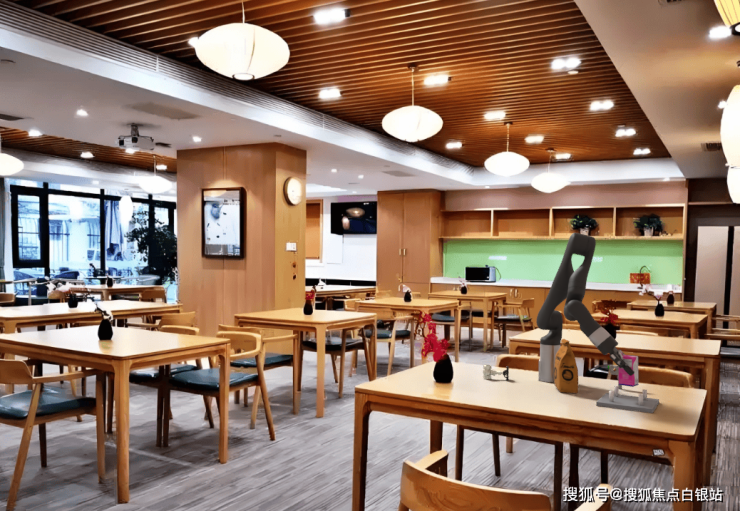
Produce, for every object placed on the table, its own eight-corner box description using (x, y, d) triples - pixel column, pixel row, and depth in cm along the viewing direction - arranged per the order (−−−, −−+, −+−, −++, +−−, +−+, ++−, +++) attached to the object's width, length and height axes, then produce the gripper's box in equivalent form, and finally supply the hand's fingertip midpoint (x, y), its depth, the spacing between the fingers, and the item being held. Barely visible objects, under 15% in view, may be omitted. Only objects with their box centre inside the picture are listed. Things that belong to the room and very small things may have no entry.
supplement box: (623, 382, 239) (624, 354, 239) (638, 385, 235) (639, 356, 235) (617, 384, 235) (618, 355, 235) (633, 387, 231) (633, 357, 231)
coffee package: (555, 392, 254) (556, 341, 254) (553, 387, 266) (553, 338, 267) (579, 394, 252) (580, 342, 252) (576, 388, 264) (576, 338, 264)
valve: (482, 380, 281) (508, 381, 278) (482, 366, 281) (508, 367, 278) (483, 377, 287) (508, 379, 284) (483, 363, 287) (508, 365, 284)
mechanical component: (631, 391, 260) (631, 368, 260) (607, 387, 266) (607, 365, 266) (633, 389, 262) (633, 367, 262) (608, 386, 268) (609, 364, 269)
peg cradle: (596, 405, 231) (596, 391, 232) (606, 396, 248) (606, 383, 248) (652, 413, 221) (652, 398, 221) (659, 402, 238) (659, 389, 238)
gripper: (606, 336, 233) (638, 369, 226) (613, 333, 245) (644, 364, 238) (592, 348, 235) (623, 382, 229) (599, 344, 248) (629, 376, 241)
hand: (634, 373), depth 234 cm, fingers closed on supplement box, 6 cm apart
